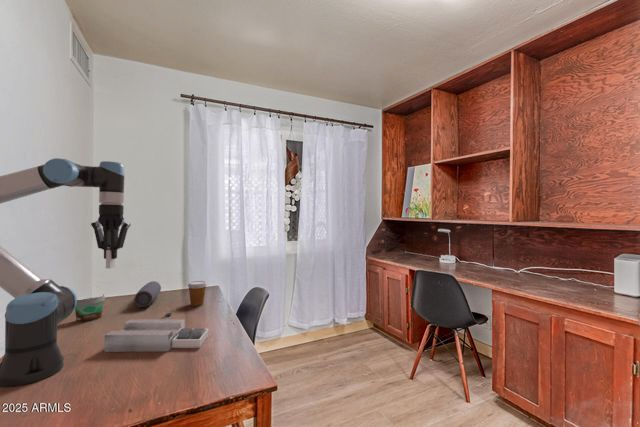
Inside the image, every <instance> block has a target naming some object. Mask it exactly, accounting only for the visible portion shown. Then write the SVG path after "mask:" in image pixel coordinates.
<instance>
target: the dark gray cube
mask: <svg viewBox="0 0 640 427" xmlns="http://www.w3.org/2000/svg"><path fill="white" fill-rule="evenodd" d="M192 329H193V327H190V328H185V329H181V330H180V331H179V334H178V340H181V339H191V332H192Z"/></svg>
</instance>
